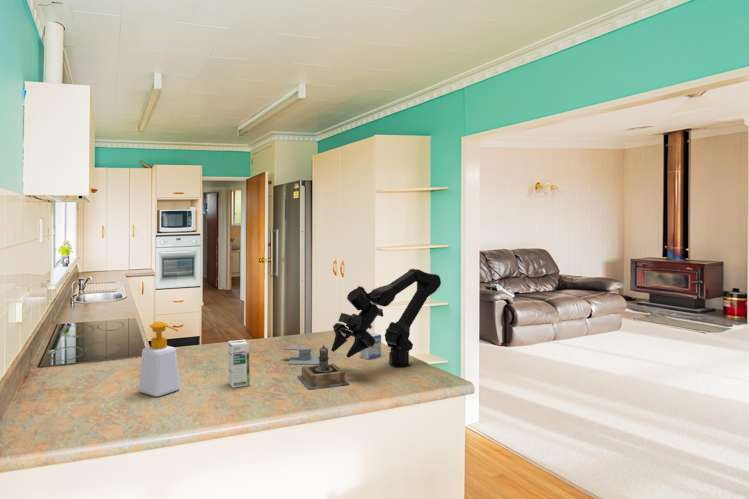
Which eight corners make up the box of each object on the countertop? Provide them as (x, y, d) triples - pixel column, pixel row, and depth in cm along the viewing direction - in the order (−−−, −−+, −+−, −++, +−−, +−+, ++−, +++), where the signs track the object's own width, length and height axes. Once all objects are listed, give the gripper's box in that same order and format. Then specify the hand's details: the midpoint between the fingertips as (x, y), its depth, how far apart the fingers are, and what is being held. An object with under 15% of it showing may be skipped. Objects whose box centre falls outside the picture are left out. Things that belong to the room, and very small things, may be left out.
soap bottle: (165, 401, 164) (164, 328, 163) (136, 392, 172) (135, 322, 170) (191, 392, 172) (190, 322, 171) (163, 384, 180) (162, 317, 178)
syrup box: (232, 388, 177) (232, 344, 176) (228, 383, 182) (227, 340, 181) (249, 386, 180) (249, 342, 179) (245, 380, 185) (245, 338, 184)
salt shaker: (318, 376, 190) (319, 341, 189) (334, 377, 188) (335, 343, 187) (312, 381, 184) (312, 345, 183) (328, 383, 182) (328, 347, 181)
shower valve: (285, 343, 217) (323, 343, 217) (285, 356, 217) (323, 357, 217) (280, 351, 204) (321, 351, 205) (280, 365, 205) (321, 366, 205)
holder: (335, 373, 195) (335, 362, 195) (349, 384, 182) (349, 373, 182) (297, 377, 190) (297, 365, 189) (308, 389, 177) (308, 377, 176)
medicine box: (368, 359, 213) (368, 337, 212) (359, 357, 216) (360, 336, 215) (381, 355, 219) (381, 334, 218) (372, 353, 222) (373, 332, 221)
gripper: (337, 300, 199) (311, 334, 193) (368, 308, 184) (341, 345, 178) (354, 319, 204) (330, 353, 198) (386, 328, 189) (360, 365, 184)
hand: (339, 353), depth 189 cm, fingers open, 9 cm apart
